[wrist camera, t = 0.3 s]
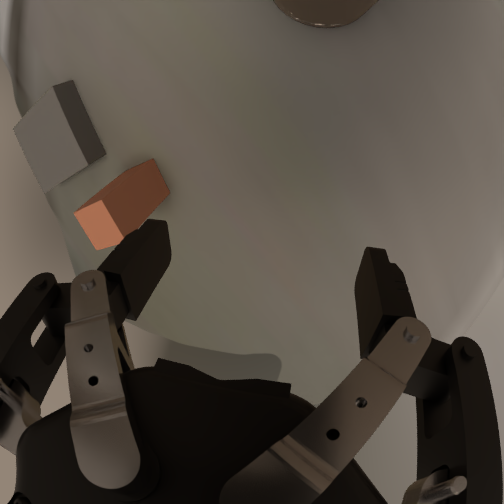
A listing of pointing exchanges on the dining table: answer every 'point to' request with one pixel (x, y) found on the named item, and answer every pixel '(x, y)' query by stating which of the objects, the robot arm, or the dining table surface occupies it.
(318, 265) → the dining table surface
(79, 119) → the charcoal block
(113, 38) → the dining table surface
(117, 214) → the brick pillar
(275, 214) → the dining table surface
